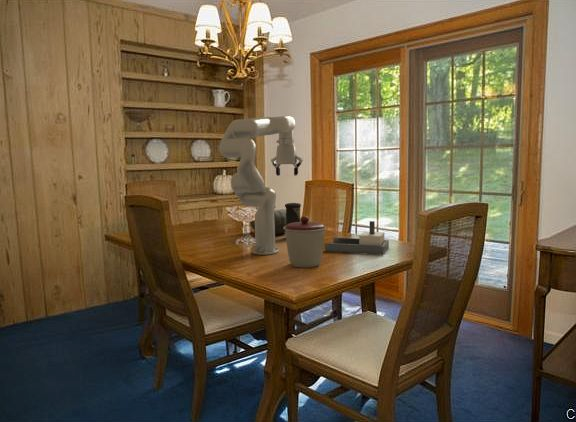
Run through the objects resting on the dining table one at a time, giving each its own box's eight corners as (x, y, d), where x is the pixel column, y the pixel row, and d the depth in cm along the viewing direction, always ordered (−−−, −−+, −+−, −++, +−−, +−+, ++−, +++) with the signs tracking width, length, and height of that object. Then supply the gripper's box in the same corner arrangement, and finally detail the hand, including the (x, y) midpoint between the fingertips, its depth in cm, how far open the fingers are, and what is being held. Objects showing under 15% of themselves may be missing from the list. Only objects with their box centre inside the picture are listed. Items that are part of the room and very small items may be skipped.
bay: (383, 255, 205) (383, 246, 205) (324, 251, 216) (324, 243, 215) (388, 248, 220) (388, 240, 220) (333, 244, 230) (333, 237, 230)
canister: (275, 265, 190) (274, 216, 187) (304, 258, 203) (303, 212, 200) (306, 273, 177) (305, 220, 175) (335, 264, 190) (335, 215, 187)
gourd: (289, 233, 251) (284, 203, 252) (247, 239, 257) (242, 210, 257) (297, 230, 276) (293, 202, 276) (259, 236, 281) (255, 209, 281)
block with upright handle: (380, 251, 208) (380, 223, 207) (359, 249, 212) (359, 222, 210) (384, 246, 218) (384, 220, 217) (364, 245, 222) (364, 219, 220)
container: (301, 239, 247) (301, 203, 245) (285, 239, 247) (284, 203, 245) (301, 236, 256) (300, 201, 253) (285, 236, 256) (285, 202, 253)
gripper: (268, 142, 230) (268, 175, 232) (299, 141, 224) (300, 175, 226) (273, 142, 237) (274, 175, 239) (304, 141, 231) (305, 175, 233)
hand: (287, 175), depth 233 cm, fingers open, 9 cm apart
